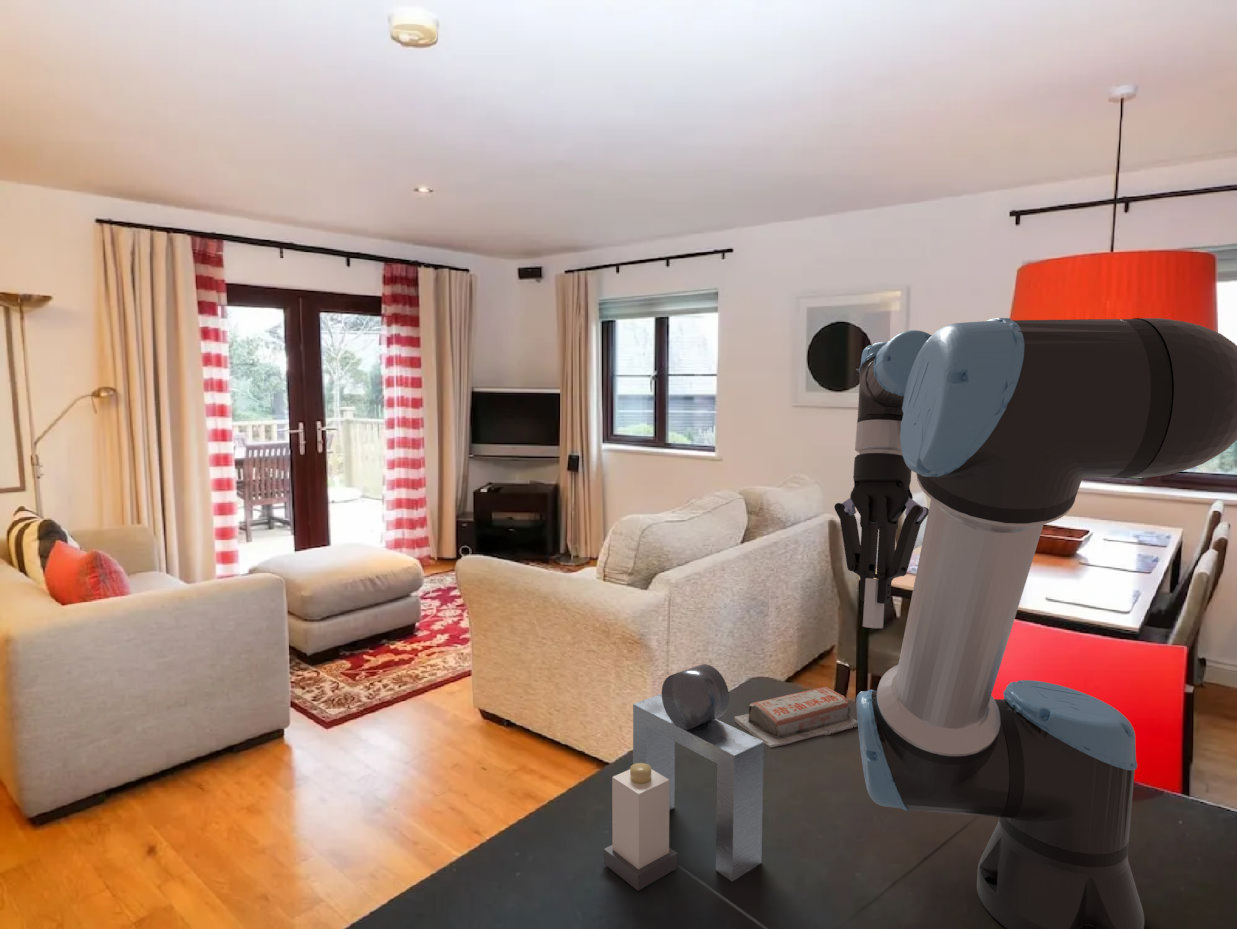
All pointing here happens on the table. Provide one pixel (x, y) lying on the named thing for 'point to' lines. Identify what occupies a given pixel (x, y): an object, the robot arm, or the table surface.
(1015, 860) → the robot arm
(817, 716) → the packaged product
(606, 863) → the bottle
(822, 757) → the table surface
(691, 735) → the grey metal arch
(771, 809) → the table surface
